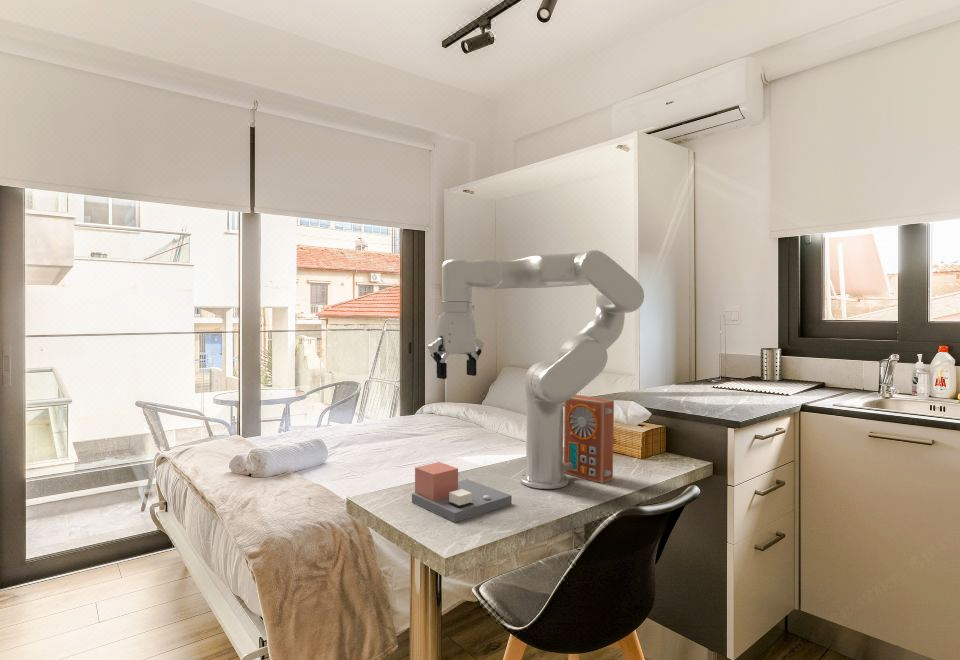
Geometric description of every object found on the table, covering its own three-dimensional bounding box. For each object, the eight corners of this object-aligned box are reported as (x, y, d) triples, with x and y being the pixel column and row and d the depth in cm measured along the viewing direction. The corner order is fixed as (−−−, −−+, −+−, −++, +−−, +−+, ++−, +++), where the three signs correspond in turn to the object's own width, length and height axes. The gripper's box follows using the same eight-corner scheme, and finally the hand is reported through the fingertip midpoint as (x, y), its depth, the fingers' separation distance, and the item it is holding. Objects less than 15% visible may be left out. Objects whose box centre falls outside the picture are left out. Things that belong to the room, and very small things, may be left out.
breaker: (461, 497, 124) (461, 488, 124) (472, 501, 121) (472, 492, 121) (449, 501, 121) (449, 492, 121) (459, 505, 119) (459, 496, 119)
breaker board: (467, 486, 139) (467, 476, 139) (511, 503, 127) (511, 492, 127) (411, 502, 128) (411, 491, 128) (454, 522, 116) (454, 510, 116)
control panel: (604, 485, 141) (558, 472, 152) (619, 479, 146) (573, 467, 157) (605, 403, 140) (559, 396, 151) (620, 400, 145) (574, 393, 156)
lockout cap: (439, 486, 133) (439, 461, 133) (457, 493, 128) (458, 468, 128) (414, 492, 128) (415, 467, 128) (433, 500, 123) (433, 474, 123)
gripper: (473, 309, 146) (472, 372, 147) (420, 309, 134) (420, 378, 135) (492, 309, 140) (492, 375, 141) (438, 309, 129) (438, 381, 129)
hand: (456, 376), depth 138 cm, fingers open, 9 cm apart
